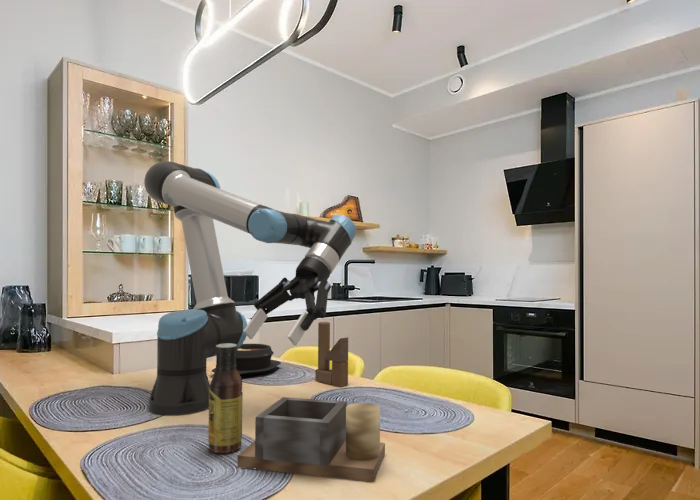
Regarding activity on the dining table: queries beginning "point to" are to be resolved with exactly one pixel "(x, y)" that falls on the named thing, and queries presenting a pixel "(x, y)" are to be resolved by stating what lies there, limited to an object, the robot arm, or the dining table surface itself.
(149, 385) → the dining table surface
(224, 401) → the sauce bottle
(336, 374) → the wooden block
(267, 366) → the casserole
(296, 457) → the post socket
